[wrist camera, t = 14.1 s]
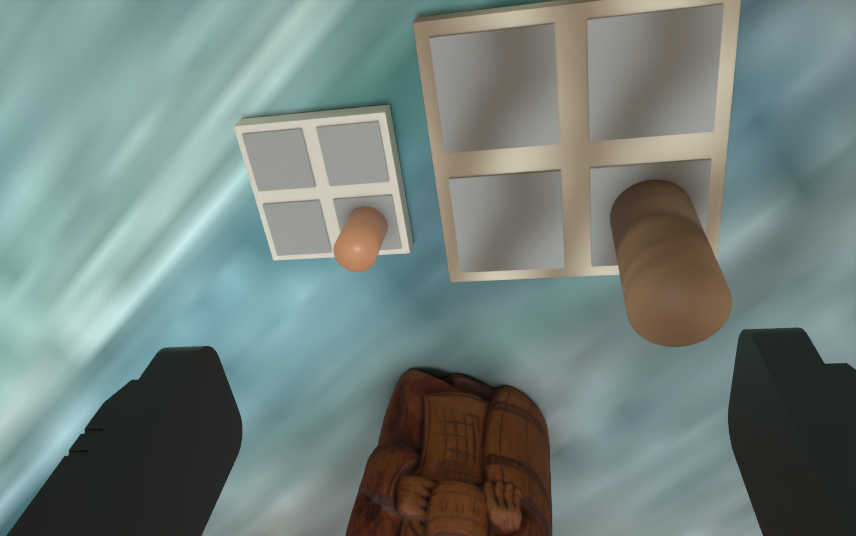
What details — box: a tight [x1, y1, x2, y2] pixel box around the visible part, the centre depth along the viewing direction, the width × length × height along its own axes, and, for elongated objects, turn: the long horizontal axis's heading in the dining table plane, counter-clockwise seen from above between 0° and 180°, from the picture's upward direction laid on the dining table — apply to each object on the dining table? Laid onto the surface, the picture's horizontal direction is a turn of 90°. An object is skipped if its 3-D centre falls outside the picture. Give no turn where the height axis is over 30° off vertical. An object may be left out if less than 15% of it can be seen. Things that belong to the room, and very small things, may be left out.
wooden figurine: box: [345, 369, 552, 536], centre depth 37 cm, size 12×6×18 cm, turn 76°
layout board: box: [413, 0, 741, 282], centre depth 33 cm, size 14×14×1 cm
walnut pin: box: [610, 179, 732, 347], centre depth 30 cm, size 4×4×8 cm
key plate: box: [234, 104, 413, 272], centre depth 35 cm, size 8×8×4 cm
